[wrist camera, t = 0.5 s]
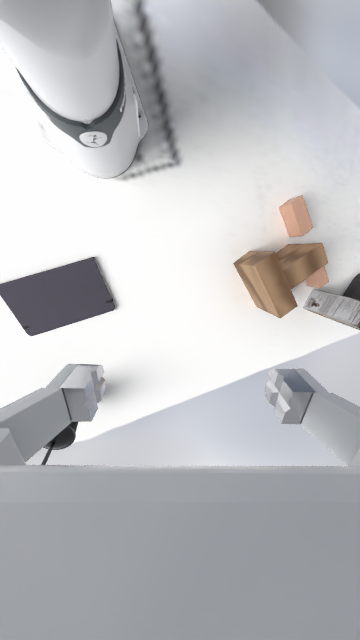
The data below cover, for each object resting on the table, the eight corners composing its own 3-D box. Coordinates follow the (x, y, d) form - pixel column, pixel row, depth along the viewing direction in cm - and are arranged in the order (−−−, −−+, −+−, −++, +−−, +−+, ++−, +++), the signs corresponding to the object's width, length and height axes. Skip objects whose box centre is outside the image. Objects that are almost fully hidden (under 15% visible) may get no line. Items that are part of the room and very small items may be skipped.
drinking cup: (96, 388, 53) (71, 461, 34) (83, 406, 54) (52, 486, 36) (69, 377, 50) (27, 451, 32) (56, 397, 51) (9, 479, 33)
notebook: (94, 256, 41) (-1, 284, 40) (92, 257, 40) (-7, 286, 38) (116, 307, 46) (32, 334, 45) (116, 309, 45) (29, 337, 43)
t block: (256, 306, 53) (280, 318, 44) (233, 263, 47) (255, 266, 38) (299, 275, 52) (333, 280, 43) (281, 227, 46) (316, 221, 37)
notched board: (307, 285, 54) (319, 288, 50) (279, 207, 44) (291, 203, 41) (316, 279, 54) (328, 281, 50) (289, 199, 44) (302, 195, 41)
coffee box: (333, 297, 57) (399, 314, 43) (322, 316, 59) (381, 338, 44) (312, 288, 55) (375, 303, 40) (301, 308, 56) (357, 328, 42)
